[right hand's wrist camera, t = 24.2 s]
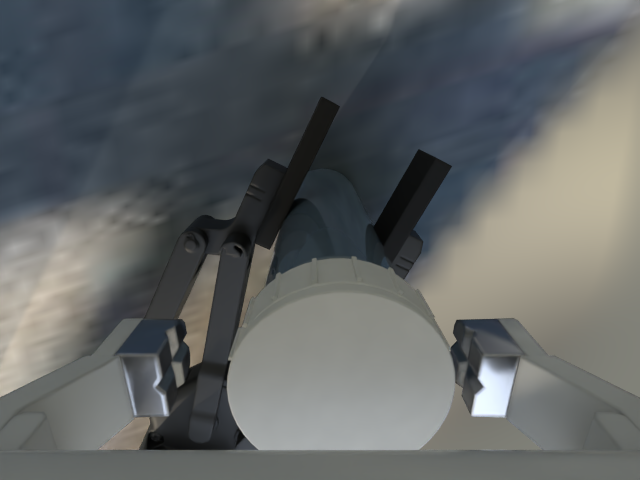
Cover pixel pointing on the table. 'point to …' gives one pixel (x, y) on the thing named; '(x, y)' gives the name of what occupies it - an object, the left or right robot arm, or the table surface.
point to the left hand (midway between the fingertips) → (382, 130)
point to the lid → (339, 362)
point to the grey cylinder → (326, 226)
